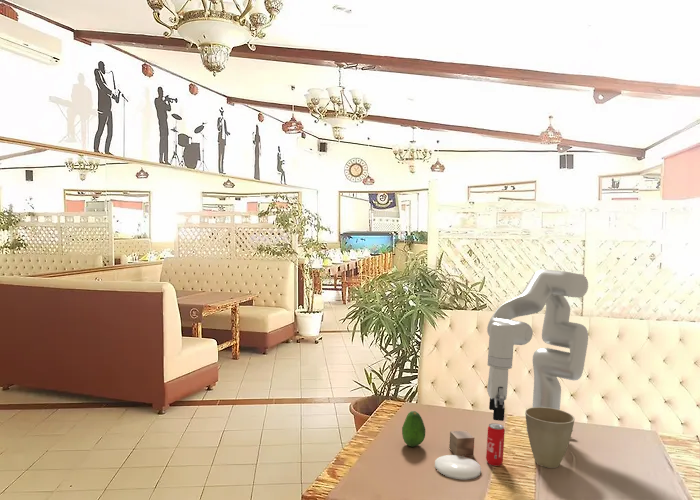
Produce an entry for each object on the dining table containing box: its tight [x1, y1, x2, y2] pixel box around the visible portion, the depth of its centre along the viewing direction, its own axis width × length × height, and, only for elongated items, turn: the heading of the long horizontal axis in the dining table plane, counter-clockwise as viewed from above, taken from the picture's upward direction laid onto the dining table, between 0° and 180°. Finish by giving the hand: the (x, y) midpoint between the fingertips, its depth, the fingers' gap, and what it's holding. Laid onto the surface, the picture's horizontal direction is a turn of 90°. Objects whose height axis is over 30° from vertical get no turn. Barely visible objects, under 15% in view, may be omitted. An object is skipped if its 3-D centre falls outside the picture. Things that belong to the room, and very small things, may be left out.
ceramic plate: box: [434, 454, 482, 481], centre depth 165 cm, size 14×14×1 cm
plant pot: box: [524, 406, 576, 469], centre depth 172 cm, size 15×15×16 cm
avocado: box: [401, 410, 426, 447], centre depth 181 cm, size 8×8×12 cm
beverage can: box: [485, 422, 506, 467], centre depth 170 cm, size 5×5×12 cm
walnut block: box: [448, 430, 475, 457], centre depth 178 cm, size 6×6×6 cm
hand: (496, 414), depth 169 cm, fingers open, 9 cm apart
